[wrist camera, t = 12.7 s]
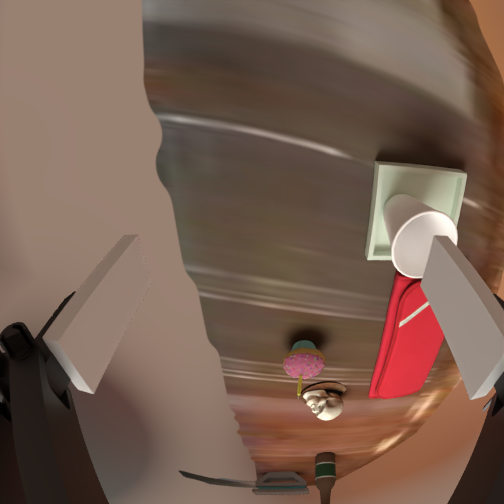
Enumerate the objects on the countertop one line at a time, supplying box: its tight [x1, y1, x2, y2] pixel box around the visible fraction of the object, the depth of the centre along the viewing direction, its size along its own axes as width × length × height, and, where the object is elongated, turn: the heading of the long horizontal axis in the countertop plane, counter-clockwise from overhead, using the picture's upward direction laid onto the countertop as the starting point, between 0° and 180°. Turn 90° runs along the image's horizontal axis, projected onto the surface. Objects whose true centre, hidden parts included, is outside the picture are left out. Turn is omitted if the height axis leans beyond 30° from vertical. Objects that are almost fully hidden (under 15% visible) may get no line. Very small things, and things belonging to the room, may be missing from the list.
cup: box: [383, 194, 458, 278], centre depth 38 cm, size 10×10×11 cm
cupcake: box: [283, 340, 325, 399], centre depth 56 cm, size 9×8×12 cm
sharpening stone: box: [252, 472, 309, 495], centre depth 107 cm, size 25×8×11 cm, turn 102°
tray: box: [365, 161, 467, 260], centre depth 42 cm, size 16×16×2 cm
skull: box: [301, 383, 346, 420], centre depth 69 cm, size 12×10×10 cm
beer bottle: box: [315, 452, 336, 504], centre depth 84 cm, size 8×8×24 cm
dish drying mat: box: [368, 270, 445, 399], centre depth 57 cm, size 16×41×4 cm, turn 8°
